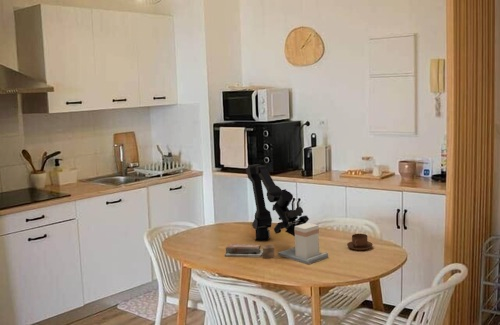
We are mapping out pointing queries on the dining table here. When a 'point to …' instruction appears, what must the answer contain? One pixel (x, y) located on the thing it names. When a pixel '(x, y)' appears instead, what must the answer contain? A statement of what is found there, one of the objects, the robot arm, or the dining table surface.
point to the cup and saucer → (359, 242)
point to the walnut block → (268, 251)
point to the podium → (292, 255)
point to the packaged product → (243, 250)
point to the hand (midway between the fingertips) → (301, 238)
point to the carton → (306, 240)
